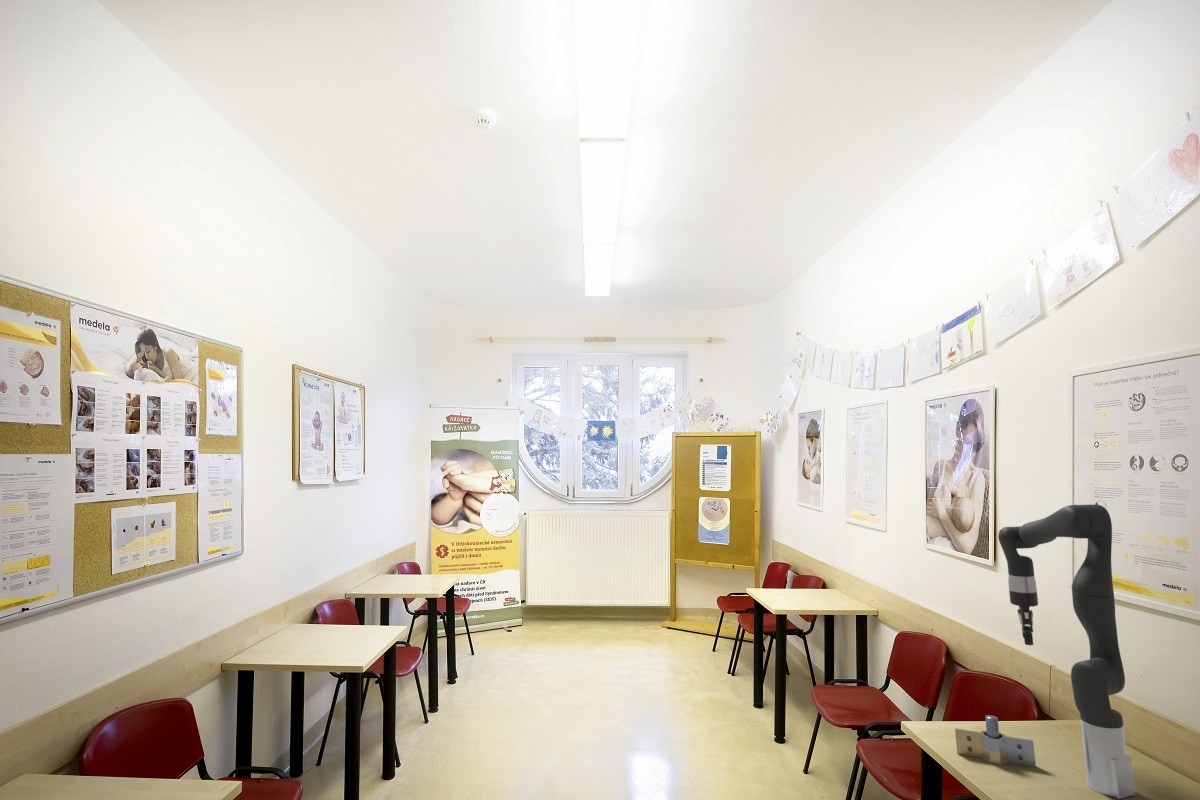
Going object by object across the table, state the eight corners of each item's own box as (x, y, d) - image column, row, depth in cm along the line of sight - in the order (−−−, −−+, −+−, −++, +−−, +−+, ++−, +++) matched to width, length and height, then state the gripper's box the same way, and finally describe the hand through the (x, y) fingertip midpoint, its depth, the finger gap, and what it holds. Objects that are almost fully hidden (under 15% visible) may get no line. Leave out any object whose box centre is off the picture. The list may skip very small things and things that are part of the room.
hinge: (1034, 761, 186) (1032, 736, 187) (1036, 771, 180) (1034, 745, 181) (957, 748, 196) (955, 725, 196) (957, 757, 190) (954, 732, 191)
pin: (1004, 761, 187) (1000, 718, 188) (995, 762, 186) (992, 720, 187) (994, 756, 190) (990, 714, 191) (986, 758, 189) (982, 716, 190)
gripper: (1038, 594, 196) (1044, 648, 195) (1034, 586, 209) (1040, 637, 207) (1010, 592, 200) (1015, 646, 198) (1007, 584, 212) (1012, 634, 211)
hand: (1028, 641), depth 203 cm, fingers open, 8 cm apart
